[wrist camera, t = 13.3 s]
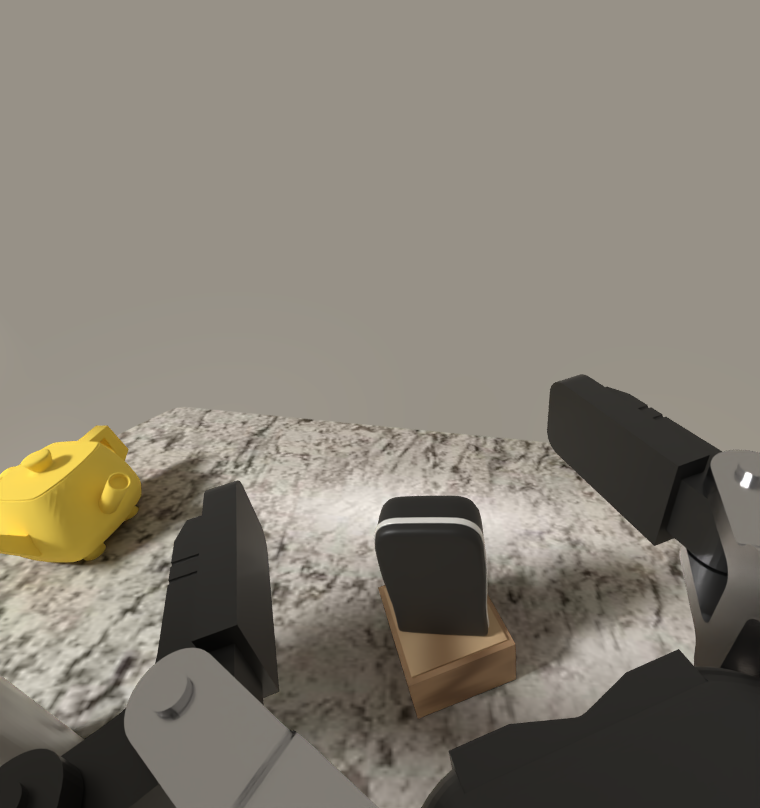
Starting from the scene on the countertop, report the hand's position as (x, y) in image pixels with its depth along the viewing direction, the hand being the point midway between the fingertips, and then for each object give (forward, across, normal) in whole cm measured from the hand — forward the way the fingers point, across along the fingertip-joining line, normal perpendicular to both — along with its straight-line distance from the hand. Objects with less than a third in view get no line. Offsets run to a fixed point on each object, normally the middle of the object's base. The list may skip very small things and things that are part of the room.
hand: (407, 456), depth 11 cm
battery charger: (+10, -3, +25) cm, 27 cm away
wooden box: (+10, -3, +30) cm, 32 cm away
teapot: (+40, +32, +31) cm, 60 cm away
